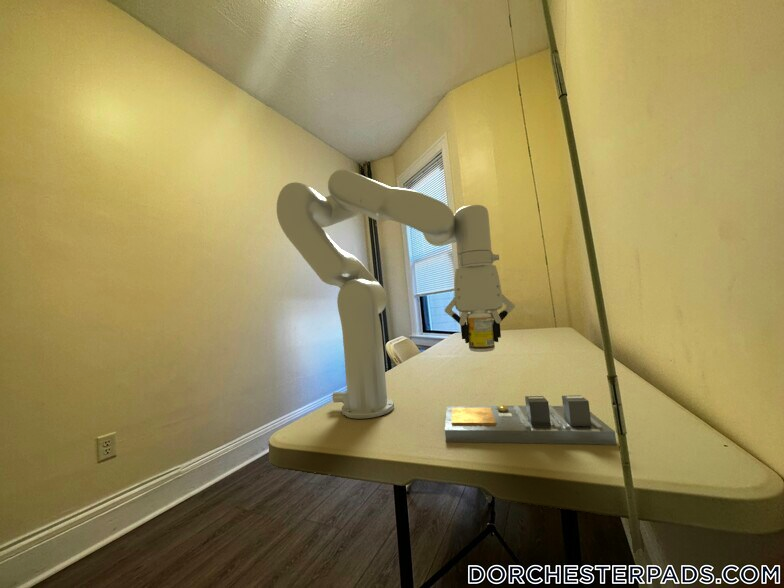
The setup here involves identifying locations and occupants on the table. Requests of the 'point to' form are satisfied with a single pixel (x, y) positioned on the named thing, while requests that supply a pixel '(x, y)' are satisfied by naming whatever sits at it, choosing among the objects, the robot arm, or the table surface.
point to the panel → (522, 425)
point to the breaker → (576, 410)
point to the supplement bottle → (480, 331)
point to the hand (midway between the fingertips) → (481, 341)
